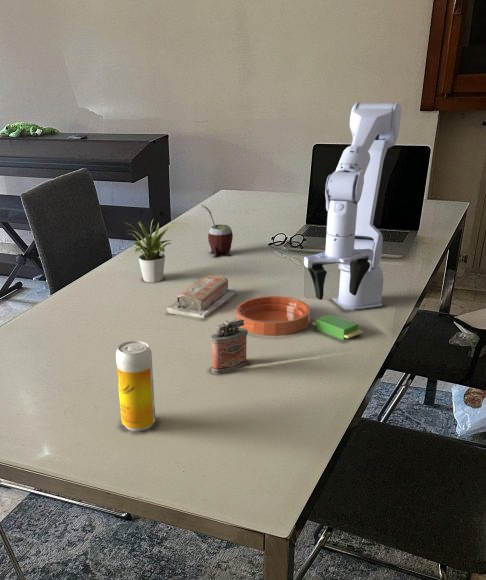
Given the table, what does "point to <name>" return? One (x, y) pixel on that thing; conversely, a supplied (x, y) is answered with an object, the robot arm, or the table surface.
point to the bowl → (273, 315)
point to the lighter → (229, 347)
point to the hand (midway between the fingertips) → (336, 295)
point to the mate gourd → (219, 238)
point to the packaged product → (202, 297)
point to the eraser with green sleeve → (337, 327)
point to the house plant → (151, 254)
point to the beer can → (135, 385)
